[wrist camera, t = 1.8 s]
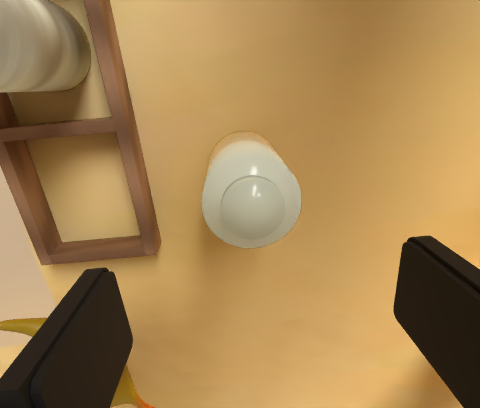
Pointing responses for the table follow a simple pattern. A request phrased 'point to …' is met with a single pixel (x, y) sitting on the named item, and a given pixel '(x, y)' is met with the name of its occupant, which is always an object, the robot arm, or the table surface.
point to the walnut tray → (59, 79)
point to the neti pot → (125, 387)
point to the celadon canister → (249, 192)
